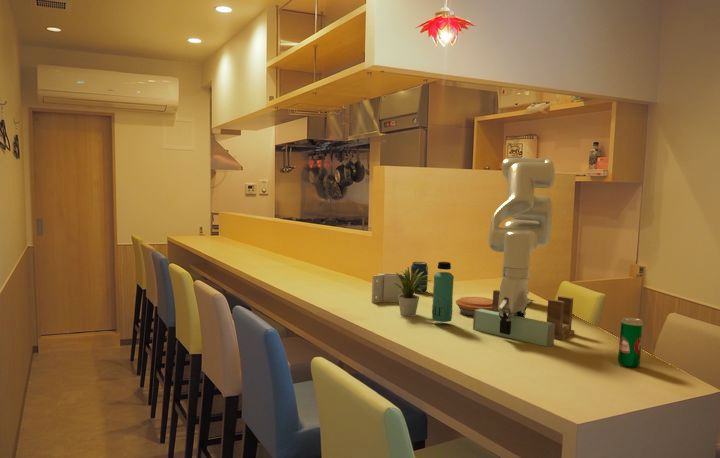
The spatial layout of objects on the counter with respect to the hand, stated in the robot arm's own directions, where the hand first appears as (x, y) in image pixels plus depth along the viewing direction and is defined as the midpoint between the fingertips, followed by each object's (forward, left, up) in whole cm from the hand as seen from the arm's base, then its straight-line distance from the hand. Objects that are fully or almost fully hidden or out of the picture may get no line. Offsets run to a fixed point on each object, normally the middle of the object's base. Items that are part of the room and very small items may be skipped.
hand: (512, 330), depth 164 cm
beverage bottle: (+4, -22, -2) cm, 22 cm away
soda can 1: (-33, -57, -2) cm, 66 cm away
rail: (0, 0, -2) cm, 2 cm away
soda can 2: (+2, +33, -2) cm, 33 cm away
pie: (-19, -22, -2) cm, 29 cm away
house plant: (+3, -36, -2) cm, 36 cm away
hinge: (-9, -54, -2) cm, 55 cm away
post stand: (-13, 0, -2) cm, 13 cm away
